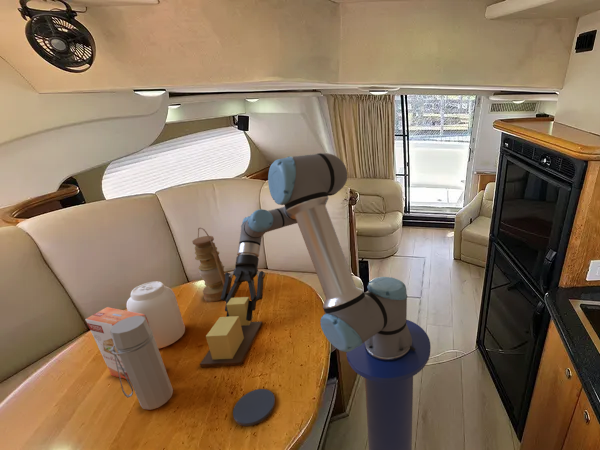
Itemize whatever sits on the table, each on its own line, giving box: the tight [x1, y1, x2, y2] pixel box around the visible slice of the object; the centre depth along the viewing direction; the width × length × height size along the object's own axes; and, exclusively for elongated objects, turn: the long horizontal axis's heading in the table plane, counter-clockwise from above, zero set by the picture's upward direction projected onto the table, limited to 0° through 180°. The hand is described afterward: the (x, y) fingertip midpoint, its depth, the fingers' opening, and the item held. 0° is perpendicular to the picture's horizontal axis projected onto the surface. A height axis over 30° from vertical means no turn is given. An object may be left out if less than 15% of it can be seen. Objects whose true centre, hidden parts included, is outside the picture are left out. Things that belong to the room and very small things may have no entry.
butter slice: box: [225, 296, 254, 326], centre depth 109 cm, size 6×4×9 cm, turn 94°
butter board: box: [199, 321, 263, 368], centre depth 103 cm, size 12×19×1 cm, turn 4°
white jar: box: [126, 280, 186, 350], centre depth 103 cm, size 12×12×20 cm
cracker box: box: [85, 306, 167, 381], centre depth 88 cm, size 14×6×21 cm, turn 76°
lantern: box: [191, 227, 232, 303], centre depth 125 cm, size 15×10×30 cm
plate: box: [232, 388, 276, 427], centre depth 82 cm, size 10×10×1 cm
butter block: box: [205, 316, 244, 360], centre depth 98 cm, size 6×9×9 cm, turn 4°
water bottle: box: [110, 316, 174, 411], centre depth 79 cm, size 9×8×25 cm
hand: (238, 320), depth 107 cm, fingers closed on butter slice, 6 cm apart
